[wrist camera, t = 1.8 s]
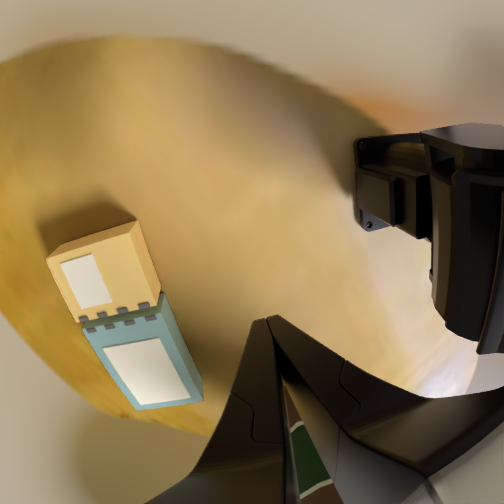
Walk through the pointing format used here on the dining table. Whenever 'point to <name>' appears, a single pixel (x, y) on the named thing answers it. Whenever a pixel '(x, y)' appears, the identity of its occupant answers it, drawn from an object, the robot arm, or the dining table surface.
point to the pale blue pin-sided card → (147, 356)
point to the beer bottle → (309, 463)
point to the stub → (105, 273)
